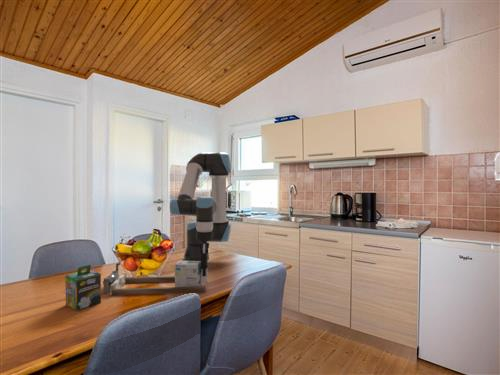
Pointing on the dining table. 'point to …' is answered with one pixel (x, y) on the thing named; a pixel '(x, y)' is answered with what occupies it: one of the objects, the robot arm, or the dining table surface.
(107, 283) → the winch
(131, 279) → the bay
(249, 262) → the dining table surface
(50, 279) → the dining table surface
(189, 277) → the light bulb box
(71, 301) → the chalk box
